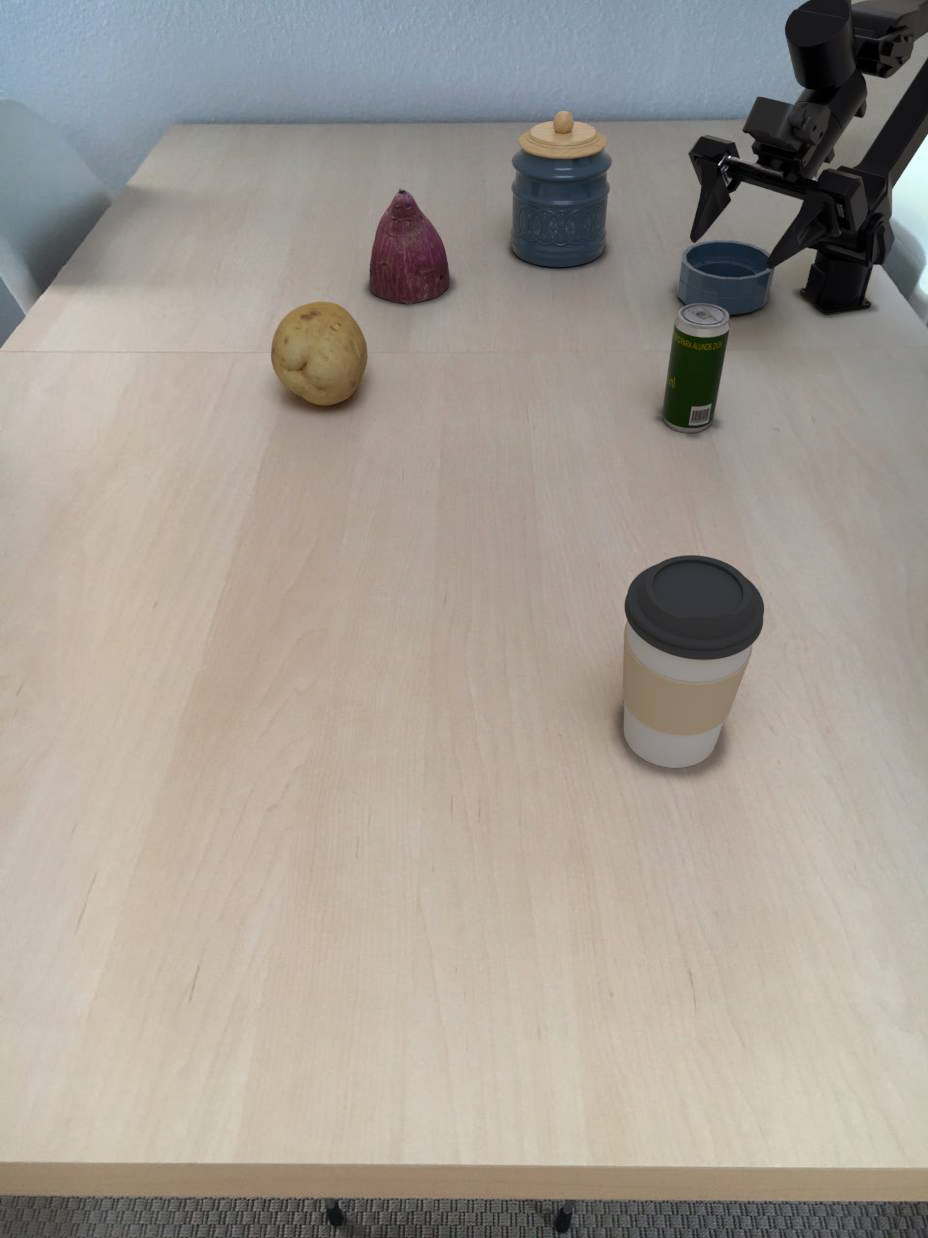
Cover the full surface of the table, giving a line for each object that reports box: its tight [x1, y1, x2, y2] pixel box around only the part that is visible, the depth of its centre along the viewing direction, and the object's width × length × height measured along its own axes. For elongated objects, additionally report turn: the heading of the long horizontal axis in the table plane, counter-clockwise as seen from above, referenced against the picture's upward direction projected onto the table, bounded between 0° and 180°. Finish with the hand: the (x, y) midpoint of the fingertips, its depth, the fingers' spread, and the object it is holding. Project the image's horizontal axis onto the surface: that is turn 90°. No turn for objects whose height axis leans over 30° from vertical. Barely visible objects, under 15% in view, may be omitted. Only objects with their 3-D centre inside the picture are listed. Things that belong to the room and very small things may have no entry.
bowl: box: [676, 239, 776, 315], centre depth 123 cm, size 11×11×5 cm
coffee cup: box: [622, 554, 765, 769], centre depth 69 cm, size 9×9×15 cm
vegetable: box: [368, 187, 451, 305], centre depth 124 cm, size 10×10×15 cm
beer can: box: [661, 303, 731, 434], centre depth 101 cm, size 5×5×12 cm
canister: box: [510, 110, 613, 268], centre depth 130 cm, size 13×13×18 cm
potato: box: [270, 301, 369, 406], centre depth 107 cm, size 10×12×10 cm
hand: (729, 252), depth 101 cm, fingers open, 9 cm apart
